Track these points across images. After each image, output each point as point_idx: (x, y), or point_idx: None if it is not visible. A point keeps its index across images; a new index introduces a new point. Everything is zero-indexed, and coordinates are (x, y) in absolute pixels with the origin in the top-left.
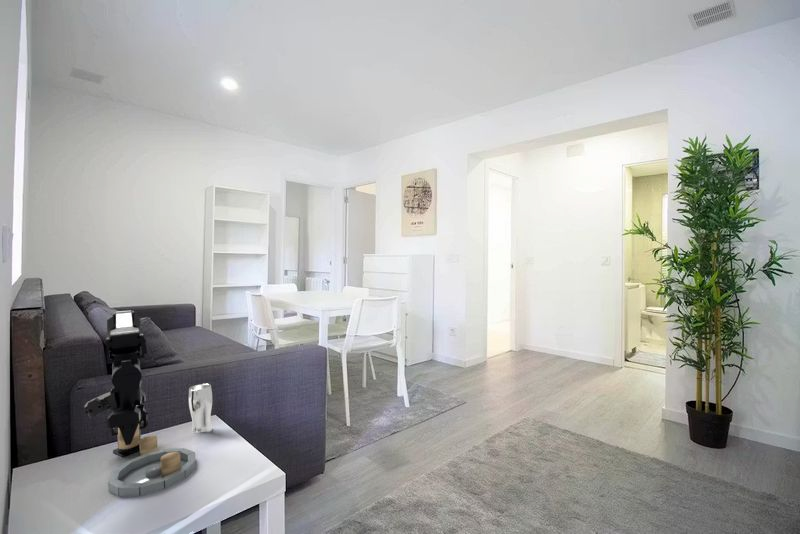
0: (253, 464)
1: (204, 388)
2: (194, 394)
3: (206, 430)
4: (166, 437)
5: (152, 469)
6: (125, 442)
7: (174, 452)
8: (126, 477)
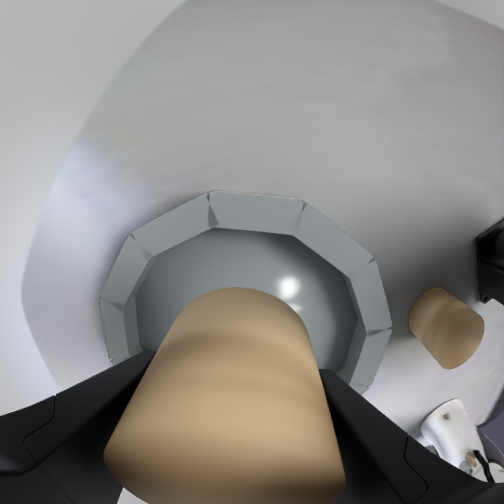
0: None
1: None
2: None
3: (423, 433)
4: (488, 345)
5: None
6: (129, 362)
7: None
8: (284, 251)
